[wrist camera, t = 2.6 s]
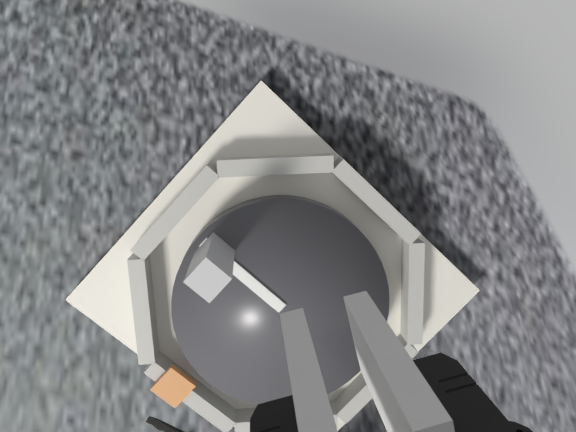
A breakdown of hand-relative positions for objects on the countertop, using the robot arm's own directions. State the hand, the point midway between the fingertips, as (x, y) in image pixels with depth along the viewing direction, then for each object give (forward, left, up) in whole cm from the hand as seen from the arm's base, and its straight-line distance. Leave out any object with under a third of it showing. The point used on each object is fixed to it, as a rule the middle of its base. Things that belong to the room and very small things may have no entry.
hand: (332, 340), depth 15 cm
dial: (-4, +5, -21) cm, 22 cm away
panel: (-4, +5, -22) cm, 23 cm away
